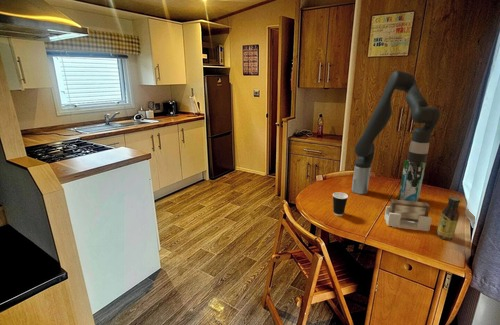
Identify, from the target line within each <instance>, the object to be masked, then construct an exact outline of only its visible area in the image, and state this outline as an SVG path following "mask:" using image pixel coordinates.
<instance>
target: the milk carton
mask: <svg viewBox="0 0 500 325" xmlns="http://www.w3.org/2000/svg"><path fill="white" fill-rule="evenodd" d="M408 162H409V160H408V159H404V163H403V170H402V175H401V181H400V186H399V192H398V198H397V200H398V199H399V200H405V201H415V202H419V199H420V195H421V189H422V184H423V181H424V180H423V179H424V175H425V169H426V165H427V163H426V162H424V163H421V165H420V166H421V167H423V170H422V175H421V180H418V184H417V187H412V186H411V184H412V180H407V175H408V173H409V172H408V170H407V166H408ZM416 177H417V175H416ZM412 179H413V178H412Z"/></svg>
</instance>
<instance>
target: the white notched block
mask: <svg viewBox="0 0 500 325" xmlns="http://www.w3.org/2000/svg"><path fill="white" fill-rule="evenodd" d="M389 209H390V205H389V206H388V205H386V206H385V212H384V220H386V221H385V223H386V225H388V226H392V227H391V228H397V227H398V229H405V230H414V231H415V230H416V231H420V232H422V231H423V232H430V228H431V225H432V220H433V218H432V216H428V217H426V216H419V219H418V222H412V221H403V220H400V219H401V214H398V213H389ZM388 226H387V227H388Z"/></svg>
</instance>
